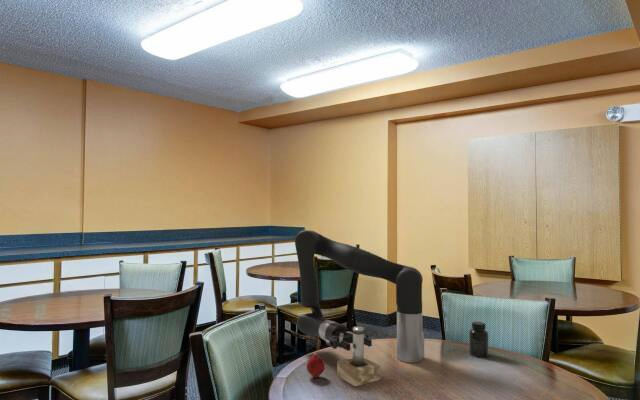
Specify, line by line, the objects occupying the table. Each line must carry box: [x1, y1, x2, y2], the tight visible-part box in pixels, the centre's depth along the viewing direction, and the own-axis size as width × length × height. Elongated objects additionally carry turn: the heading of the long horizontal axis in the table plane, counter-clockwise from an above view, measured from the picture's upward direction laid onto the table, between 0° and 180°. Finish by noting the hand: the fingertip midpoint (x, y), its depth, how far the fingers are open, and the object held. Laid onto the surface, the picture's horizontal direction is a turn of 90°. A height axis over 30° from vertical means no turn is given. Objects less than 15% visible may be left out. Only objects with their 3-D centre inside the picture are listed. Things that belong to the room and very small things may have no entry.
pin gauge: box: [352, 326, 365, 368], centre depth 136 cm, size 4×4×15 cm
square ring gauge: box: [336, 357, 381, 387], centre depth 135 cm, size 10×10×4 cm
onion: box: [306, 352, 325, 379], centre depth 135 cm, size 6×6×8 cm
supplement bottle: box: [468, 321, 489, 358], centre depth 158 cm, size 7×7×12 cm
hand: (360, 345), depth 135 cm, fingers open, 8 cm apart
